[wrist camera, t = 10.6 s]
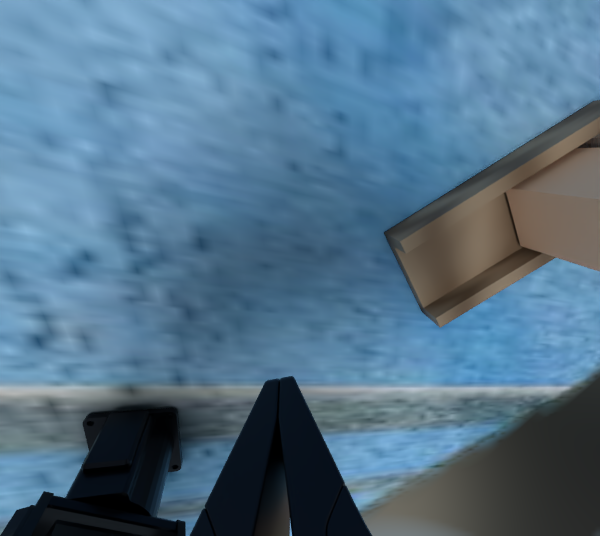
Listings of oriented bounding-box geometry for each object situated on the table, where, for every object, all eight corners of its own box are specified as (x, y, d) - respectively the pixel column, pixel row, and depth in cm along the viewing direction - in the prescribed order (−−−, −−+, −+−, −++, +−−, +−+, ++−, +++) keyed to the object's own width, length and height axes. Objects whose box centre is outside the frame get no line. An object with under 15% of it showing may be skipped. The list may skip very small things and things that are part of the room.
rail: (422, 312, 24) (440, 327, 22) (383, 232, 21) (400, 241, 19) (605, 200, 24) (642, 204, 21) (593, 101, 20) (636, 94, 18)
